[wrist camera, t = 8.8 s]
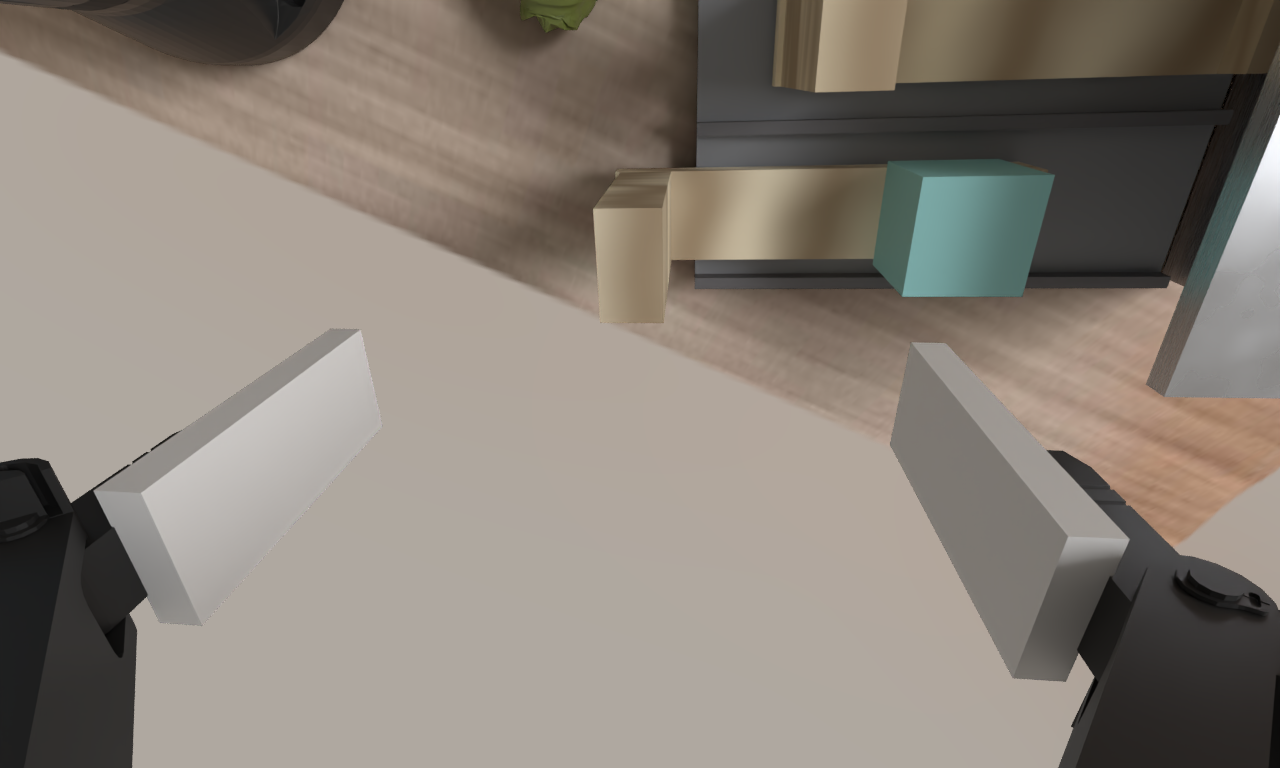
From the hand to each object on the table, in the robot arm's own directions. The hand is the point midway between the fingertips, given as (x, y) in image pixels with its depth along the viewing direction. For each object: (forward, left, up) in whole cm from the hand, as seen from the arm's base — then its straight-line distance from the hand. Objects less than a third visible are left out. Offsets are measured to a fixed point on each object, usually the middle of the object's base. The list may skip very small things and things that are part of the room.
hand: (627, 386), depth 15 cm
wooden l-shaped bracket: (+7, 0, -19) cm, 21 cm away
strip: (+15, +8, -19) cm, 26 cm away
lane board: (+14, +4, -21) cm, 25 cm away
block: (+13, 0, -18) cm, 22 cm away
